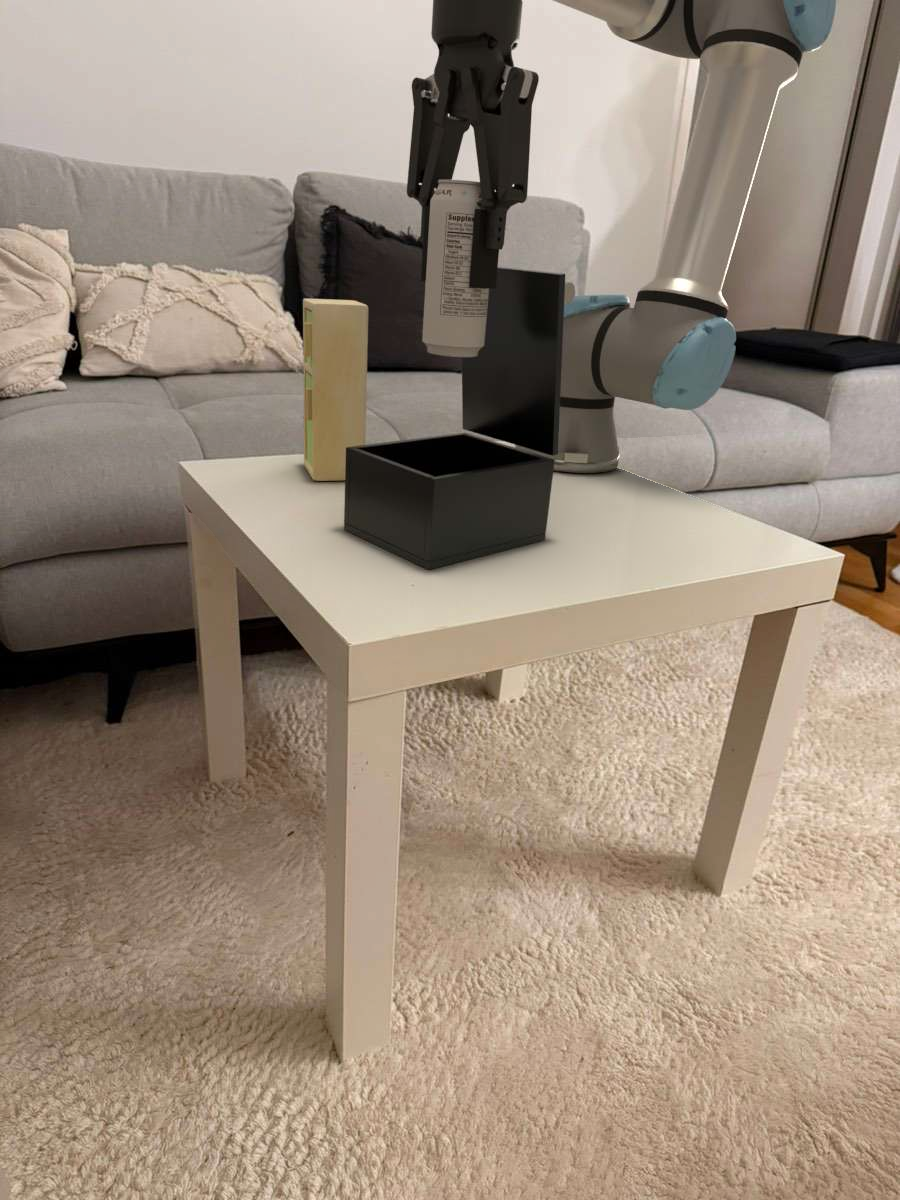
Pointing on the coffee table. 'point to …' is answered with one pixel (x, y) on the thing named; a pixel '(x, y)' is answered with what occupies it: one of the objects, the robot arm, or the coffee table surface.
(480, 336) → the energy drink can
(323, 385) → the toy refrigerator
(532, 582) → the coffee table surface
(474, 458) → the black box
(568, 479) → the coffee table surface
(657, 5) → the robot arm
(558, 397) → the box lid
